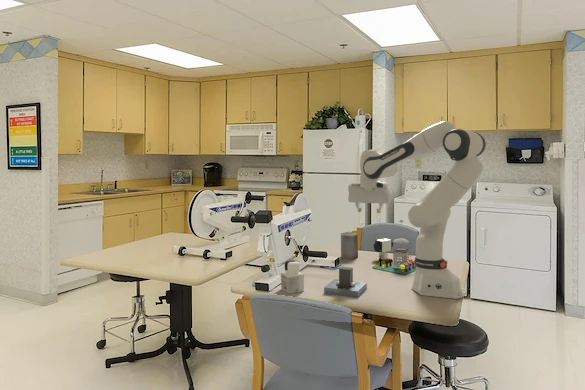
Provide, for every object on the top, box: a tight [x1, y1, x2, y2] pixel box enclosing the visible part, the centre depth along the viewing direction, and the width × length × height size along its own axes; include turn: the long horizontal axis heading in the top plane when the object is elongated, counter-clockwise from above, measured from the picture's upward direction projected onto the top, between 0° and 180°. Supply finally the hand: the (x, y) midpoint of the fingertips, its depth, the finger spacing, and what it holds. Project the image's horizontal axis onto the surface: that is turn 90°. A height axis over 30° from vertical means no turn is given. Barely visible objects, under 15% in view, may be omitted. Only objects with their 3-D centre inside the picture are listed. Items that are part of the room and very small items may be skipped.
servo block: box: [336, 266, 356, 289], centre depth 200 cm, size 6×8×10 cm
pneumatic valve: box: [373, 237, 394, 260], centre depth 259 cm, size 6×12×12 cm, turn 128°
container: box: [280, 259, 305, 294], centre depth 202 cm, size 8×8×13 cm
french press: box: [392, 219, 414, 267], centre depth 240 cm, size 10×12×25 cm
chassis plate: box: [323, 278, 368, 298], centre depth 201 cm, size 14×15×2 cm
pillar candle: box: [340, 231, 359, 260], centre depth 264 cm, size 10×10×15 cm
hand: (369, 212), depth 223 cm, fingers open, 8 cm apart
